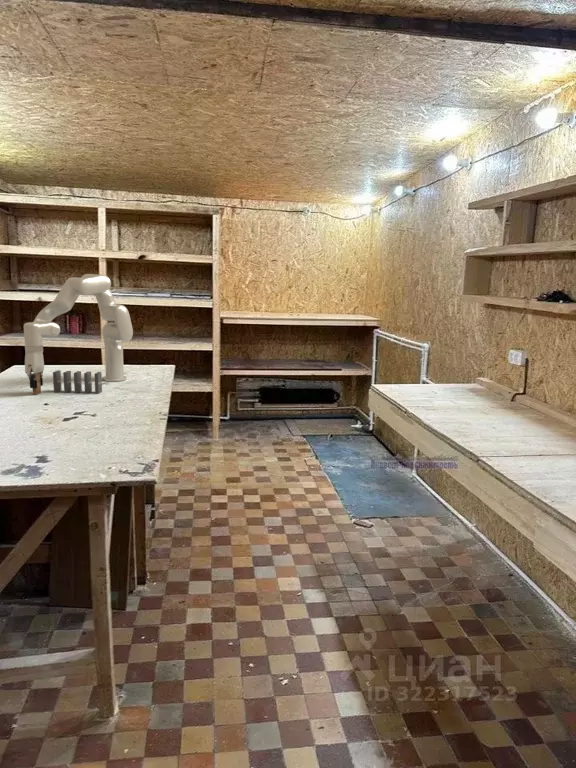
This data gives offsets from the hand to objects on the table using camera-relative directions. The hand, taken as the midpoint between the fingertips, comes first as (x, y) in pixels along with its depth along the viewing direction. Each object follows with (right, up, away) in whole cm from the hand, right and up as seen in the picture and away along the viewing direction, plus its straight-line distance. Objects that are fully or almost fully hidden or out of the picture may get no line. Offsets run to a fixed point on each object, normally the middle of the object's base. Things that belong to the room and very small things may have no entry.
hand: (36, 386), depth 244 cm
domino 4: (+17, -3, +8) cm, 19 cm away
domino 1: (0, -3, +1) cm, 4 cm away
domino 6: (+27, -3, +8) cm, 28 cm away
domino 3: (+12, -3, +8) cm, 14 cm away
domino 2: (+7, -2, +8) cm, 10 cm away
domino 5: (+22, -3, +8) cm, 23 cm away
